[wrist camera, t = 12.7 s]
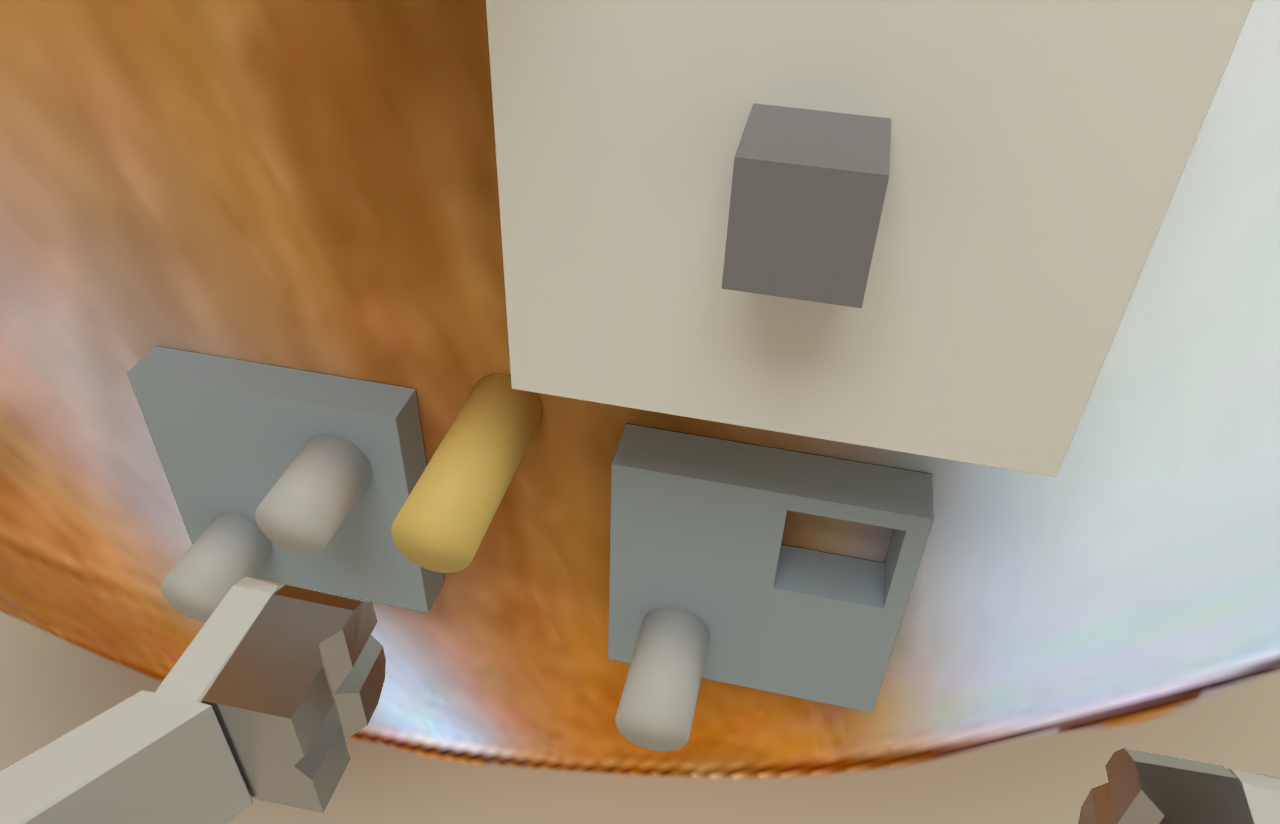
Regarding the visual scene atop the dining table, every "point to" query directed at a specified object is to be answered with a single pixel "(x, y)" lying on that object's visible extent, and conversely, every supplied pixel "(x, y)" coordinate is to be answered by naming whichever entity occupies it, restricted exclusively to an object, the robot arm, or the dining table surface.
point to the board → (261, 443)
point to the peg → (467, 476)
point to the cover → (842, 206)
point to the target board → (749, 576)
